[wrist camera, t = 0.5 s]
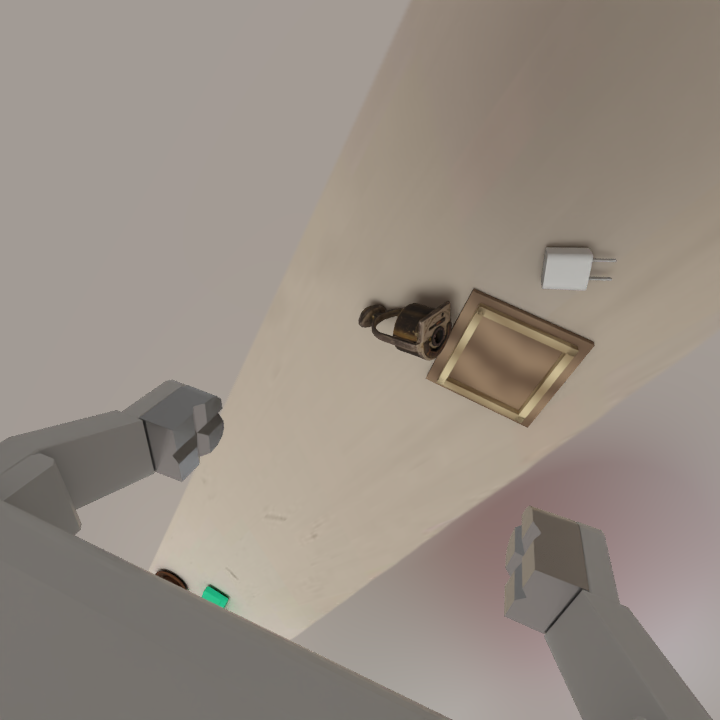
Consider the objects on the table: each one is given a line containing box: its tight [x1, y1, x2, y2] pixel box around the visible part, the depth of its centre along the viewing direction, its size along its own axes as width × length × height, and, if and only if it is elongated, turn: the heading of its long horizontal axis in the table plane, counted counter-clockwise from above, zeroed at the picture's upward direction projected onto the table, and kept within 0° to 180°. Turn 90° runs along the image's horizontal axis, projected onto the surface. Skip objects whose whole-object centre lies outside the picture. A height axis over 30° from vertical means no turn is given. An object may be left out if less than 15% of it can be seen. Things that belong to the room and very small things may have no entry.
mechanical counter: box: [359, 301, 452, 360], centre depth 51 cm, size 7×13×10 cm, turn 109°
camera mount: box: [202, 587, 228, 608], centre depth 120 cm, size 12×8×10 cm, turn 157°
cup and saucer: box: [155, 571, 186, 590], centre depth 126 cm, size 12×12×6 cm
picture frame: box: [426, 289, 594, 428], centre depth 53 cm, size 15×16×2 cm
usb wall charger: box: [541, 247, 617, 290], centre depth 43 cm, size 4×7×4 cm, turn 94°
